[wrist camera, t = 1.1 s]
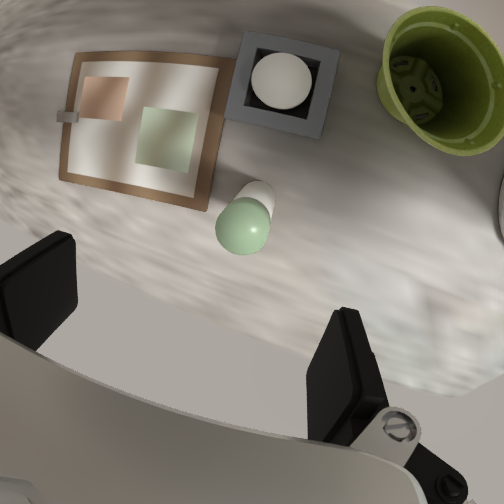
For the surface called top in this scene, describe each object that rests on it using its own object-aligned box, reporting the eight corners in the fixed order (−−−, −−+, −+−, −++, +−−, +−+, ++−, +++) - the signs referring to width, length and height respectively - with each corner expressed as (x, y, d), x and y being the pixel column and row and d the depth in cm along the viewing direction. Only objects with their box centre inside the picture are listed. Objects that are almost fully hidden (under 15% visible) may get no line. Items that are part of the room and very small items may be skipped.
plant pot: (382, 159, 24) (421, 177, 16) (335, 54, 21) (355, 21, 13) (470, 128, 21) (529, 135, 13) (429, 28, 18) (476, -1, 10)
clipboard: (238, 60, 22) (235, 57, 21) (207, 210, 27) (203, 214, 26) (76, 54, 22) (68, 52, 21) (59, 178, 28) (52, 180, 26)
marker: (280, 185, 26) (273, 211, 18) (271, 220, 27) (261, 260, 19) (243, 176, 26) (220, 199, 18) (235, 211, 27) (211, 248, 19)
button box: (335, 58, 21) (340, 51, 18) (316, 138, 24) (319, 140, 21) (249, 40, 21) (244, 30, 19) (230, 119, 24) (223, 118, 21)
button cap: (314, 66, 20) (317, 60, 18) (303, 115, 22) (304, 114, 19) (262, 55, 20) (258, 47, 18) (250, 103, 22) (245, 101, 20)
